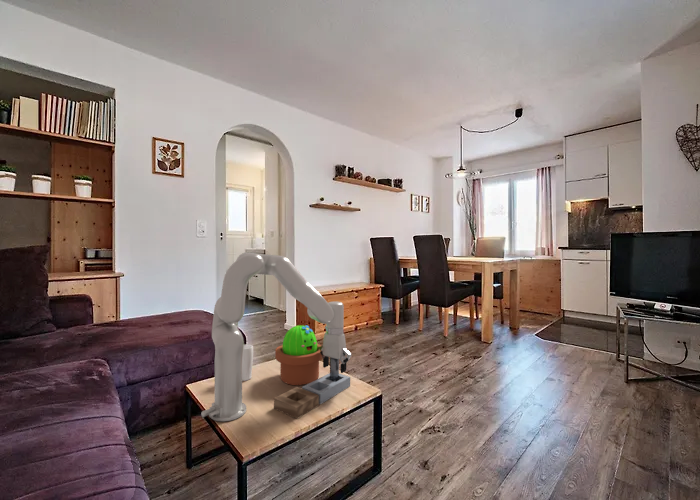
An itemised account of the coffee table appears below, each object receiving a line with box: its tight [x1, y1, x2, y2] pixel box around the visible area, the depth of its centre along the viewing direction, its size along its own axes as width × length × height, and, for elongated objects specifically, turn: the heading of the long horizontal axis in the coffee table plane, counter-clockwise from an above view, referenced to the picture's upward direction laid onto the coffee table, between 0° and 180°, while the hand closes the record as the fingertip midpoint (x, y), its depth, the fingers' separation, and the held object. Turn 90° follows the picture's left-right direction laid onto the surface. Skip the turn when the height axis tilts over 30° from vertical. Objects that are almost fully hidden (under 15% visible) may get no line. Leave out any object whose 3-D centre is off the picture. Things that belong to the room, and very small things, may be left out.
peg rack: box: [301, 372, 351, 405], centre depth 136 cm, size 20×10×4 cm, turn 144°
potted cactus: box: [274, 324, 323, 386], centre depth 149 cm, size 22×22×25 cm
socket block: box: [273, 386, 320, 420], centre depth 122 cm, size 12×12×4 cm
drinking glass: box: [242, 343, 254, 382], centre depth 147 cm, size 7×7×15 cm
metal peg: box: [329, 357, 340, 382], centre depth 139 cm, size 4×4×14 cm
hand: (334, 369), depth 139 cm, fingers open, 9 cm apart
